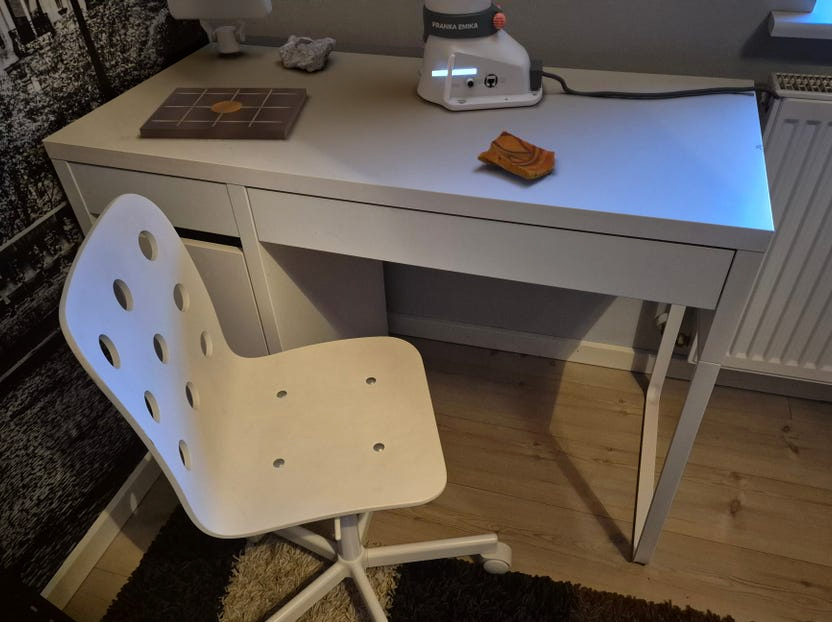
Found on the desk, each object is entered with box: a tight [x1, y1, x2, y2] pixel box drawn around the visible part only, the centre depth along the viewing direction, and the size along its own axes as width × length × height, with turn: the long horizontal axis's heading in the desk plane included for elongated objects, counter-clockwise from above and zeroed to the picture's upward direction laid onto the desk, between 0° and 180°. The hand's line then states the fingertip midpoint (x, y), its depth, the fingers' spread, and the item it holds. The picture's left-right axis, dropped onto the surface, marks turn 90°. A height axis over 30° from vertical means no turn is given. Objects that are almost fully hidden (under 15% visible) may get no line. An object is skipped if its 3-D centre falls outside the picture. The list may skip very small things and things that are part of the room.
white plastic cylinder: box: [214, 25, 241, 54], centre depth 137 cm, size 4×4×4 cm
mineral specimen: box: [277, 34, 337, 72], centre depth 132 cm, size 6×11×12 cm
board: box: [139, 87, 308, 140], centre depth 115 cm, size 24×18×2 cm
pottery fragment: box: [477, 130, 556, 180], centre depth 97 cm, size 10×5×10 cm
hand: (227, 41), depth 137 cm, fingers closed on white plastic cylinder, 4 cm apart
